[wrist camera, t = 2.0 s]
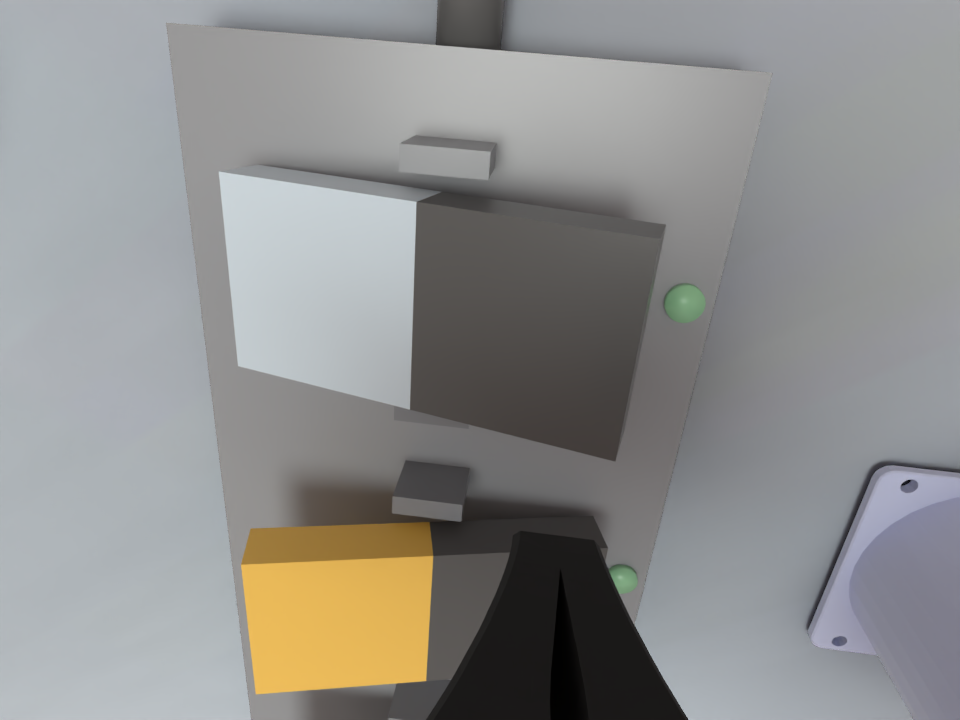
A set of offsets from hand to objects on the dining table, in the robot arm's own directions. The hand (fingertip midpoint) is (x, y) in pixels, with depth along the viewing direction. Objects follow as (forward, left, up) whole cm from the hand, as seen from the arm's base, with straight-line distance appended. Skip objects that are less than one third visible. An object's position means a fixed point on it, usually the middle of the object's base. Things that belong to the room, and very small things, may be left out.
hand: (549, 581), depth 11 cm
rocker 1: (+3, -2, -7) cm, 8 cm away
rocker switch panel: (+3, +5, -10) cm, 12 cm away
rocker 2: (+3, +7, -7) cm, 10 cm away
